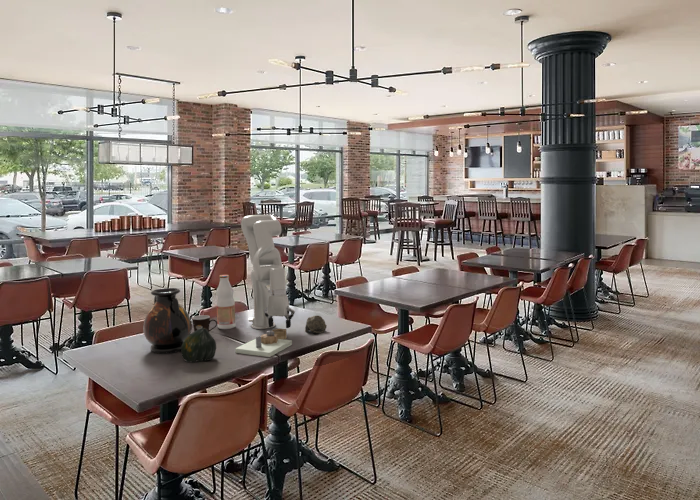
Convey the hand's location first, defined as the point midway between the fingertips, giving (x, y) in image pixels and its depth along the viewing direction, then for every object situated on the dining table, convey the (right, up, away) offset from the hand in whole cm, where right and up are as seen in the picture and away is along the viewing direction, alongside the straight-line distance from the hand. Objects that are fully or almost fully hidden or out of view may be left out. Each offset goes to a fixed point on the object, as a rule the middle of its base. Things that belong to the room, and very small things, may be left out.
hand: (279, 327), depth 275 cm
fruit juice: (-32, -4, +25) cm, 40 cm away
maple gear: (0, -6, +2) cm, 6 cm away
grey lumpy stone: (+17, -4, +13) cm, 21 cm away
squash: (-31, -11, -29) cm, 44 cm away
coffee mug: (-39, -6, +6) cm, 40 cm away
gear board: (-5, -8, -15) cm, 17 cm away
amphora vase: (-50, -9, -12) cm, 52 cm away
